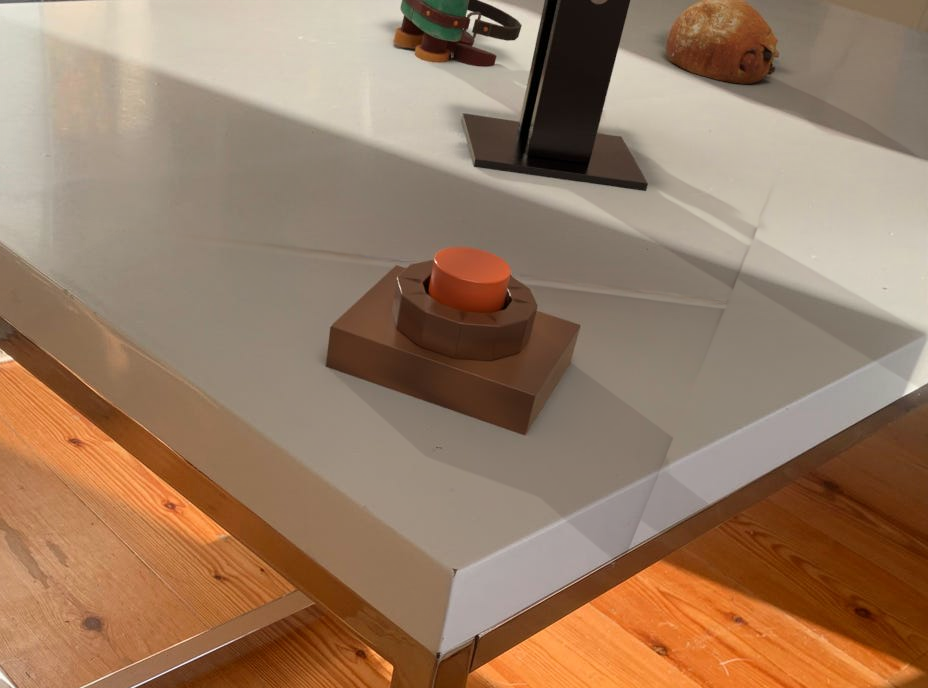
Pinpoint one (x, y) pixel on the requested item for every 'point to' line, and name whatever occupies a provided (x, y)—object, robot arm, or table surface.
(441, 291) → the button
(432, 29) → the binoculars
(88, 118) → the table surface
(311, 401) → the table surface
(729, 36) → the bread roll
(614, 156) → the bracket
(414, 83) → the table surface
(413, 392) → the button block
